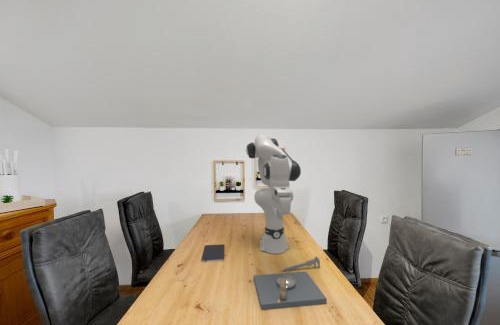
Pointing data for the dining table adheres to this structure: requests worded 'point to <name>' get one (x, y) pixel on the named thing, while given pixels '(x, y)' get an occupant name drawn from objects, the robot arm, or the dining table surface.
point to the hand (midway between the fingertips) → (279, 219)
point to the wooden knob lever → (285, 285)
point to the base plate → (288, 291)
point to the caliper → (304, 264)
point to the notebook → (213, 253)
